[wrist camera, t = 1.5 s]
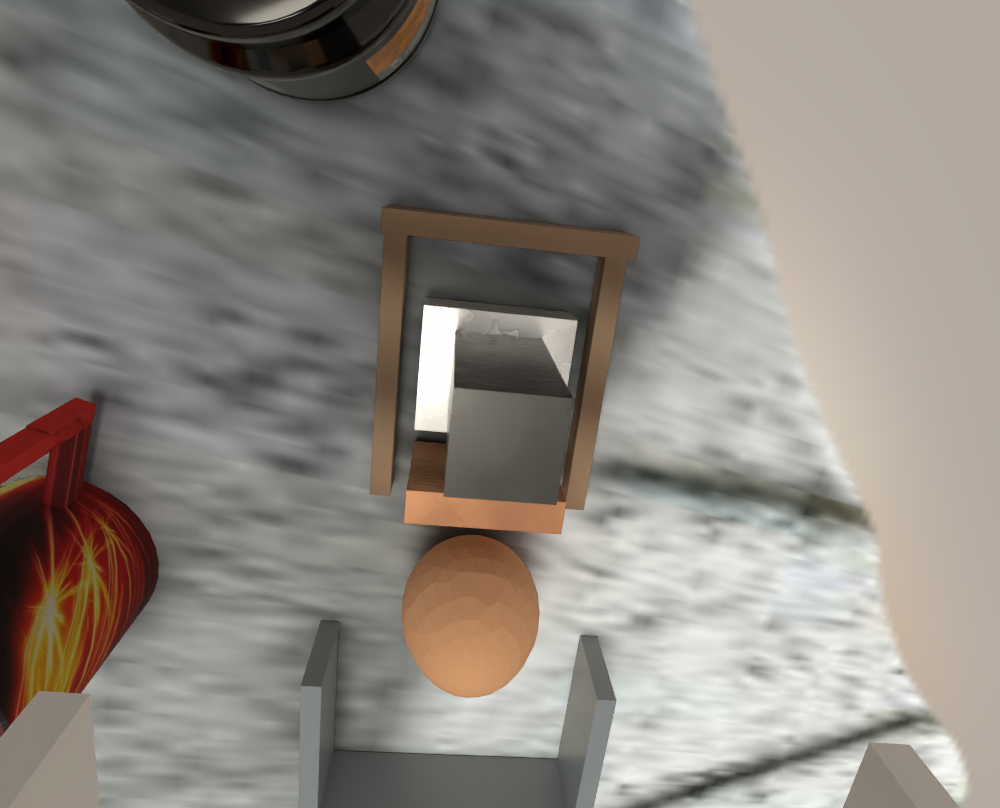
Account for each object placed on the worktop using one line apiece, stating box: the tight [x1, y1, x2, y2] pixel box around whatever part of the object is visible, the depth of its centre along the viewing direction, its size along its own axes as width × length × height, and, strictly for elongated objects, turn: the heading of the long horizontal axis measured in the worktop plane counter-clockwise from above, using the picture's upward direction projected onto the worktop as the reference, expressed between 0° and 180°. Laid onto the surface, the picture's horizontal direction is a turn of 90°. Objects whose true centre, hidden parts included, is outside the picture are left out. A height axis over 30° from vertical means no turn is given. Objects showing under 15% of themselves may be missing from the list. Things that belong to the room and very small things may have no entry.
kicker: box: [404, 297, 578, 534], centre depth 28 cm, size 9×7×11 cm
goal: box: [298, 621, 616, 808], centre depth 37 cm, size 10×16×5 cm, turn 84°
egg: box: [402, 535, 540, 698], centre depth 32 cm, size 7×7×9 cm
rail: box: [370, 205, 640, 510], centre depth 31 cm, size 14×11×3 cm
